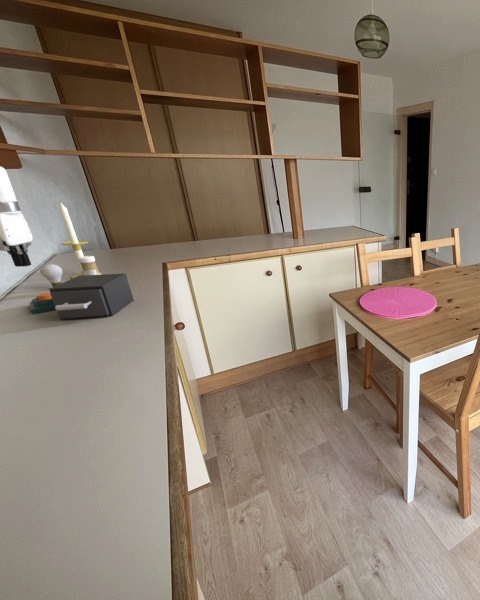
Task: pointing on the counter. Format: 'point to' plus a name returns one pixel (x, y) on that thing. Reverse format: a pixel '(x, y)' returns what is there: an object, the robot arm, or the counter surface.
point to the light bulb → (52, 273)
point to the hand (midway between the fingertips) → (23, 265)
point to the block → (42, 305)
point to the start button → (44, 296)
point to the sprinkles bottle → (88, 265)
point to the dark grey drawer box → (111, 286)
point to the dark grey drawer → (79, 303)
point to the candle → (72, 237)
